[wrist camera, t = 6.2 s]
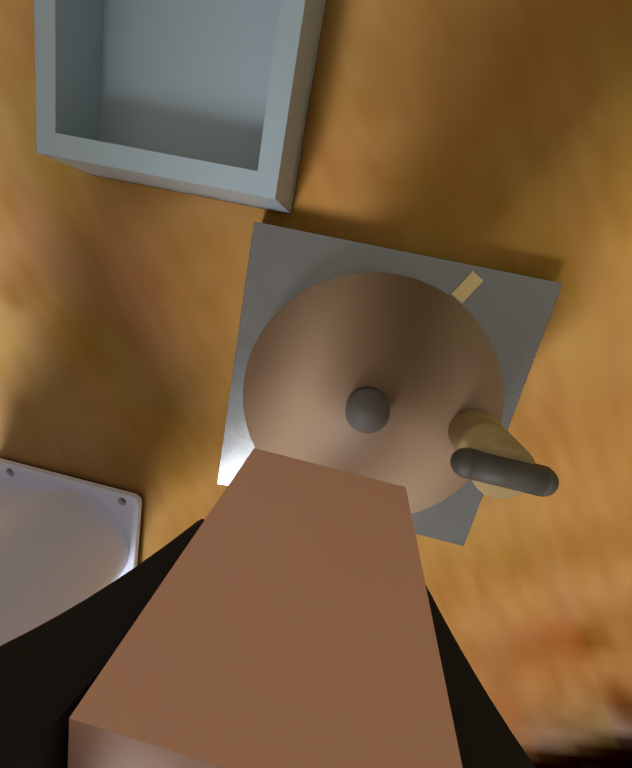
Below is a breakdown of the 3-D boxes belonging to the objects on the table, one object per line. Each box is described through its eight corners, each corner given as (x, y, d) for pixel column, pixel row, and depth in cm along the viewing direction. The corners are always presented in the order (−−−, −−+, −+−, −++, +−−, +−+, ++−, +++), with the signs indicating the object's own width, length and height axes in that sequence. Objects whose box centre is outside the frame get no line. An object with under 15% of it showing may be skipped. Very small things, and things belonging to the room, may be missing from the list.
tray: (91, 175, 17) (36, 152, 14) (98, -94, 14) (31, -188, 12) (290, 214, 16) (274, 198, 14) (335, -60, 14) (328, -151, 11)
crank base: (224, 474, 20) (216, 484, 19) (260, 225, 17) (253, 220, 16) (458, 533, 19) (464, 547, 18) (550, 283, 16) (563, 283, 15)
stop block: (231, 570, 12) (63, 931, 5) (254, 448, 11) (69, 718, 4) (366, 608, 12) (368, 1042, 5) (405, 486, 10) (479, 849, 4)
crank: (236, 474, 19) (189, 542, 14) (270, 249, 16) (227, 232, 11) (465, 531, 18) (504, 626, 13) (549, 306, 15) (642, 317, 10)
